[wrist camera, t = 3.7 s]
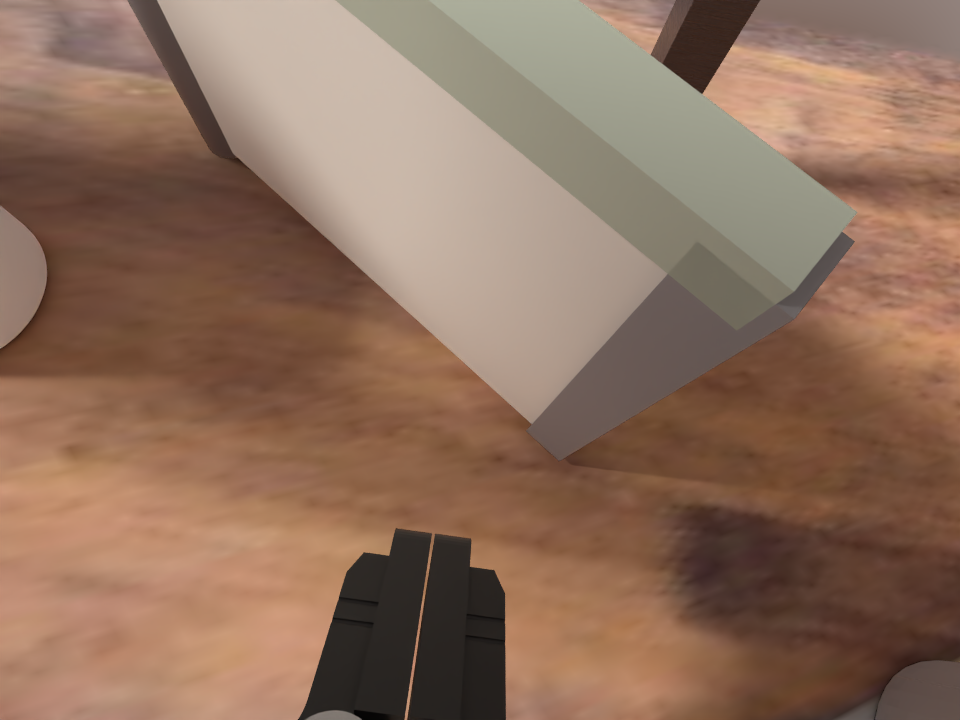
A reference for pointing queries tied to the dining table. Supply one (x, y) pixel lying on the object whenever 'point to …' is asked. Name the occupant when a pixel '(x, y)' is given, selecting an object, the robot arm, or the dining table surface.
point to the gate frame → (700, 37)
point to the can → (19, 276)
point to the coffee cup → (922, 693)
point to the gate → (514, 187)
